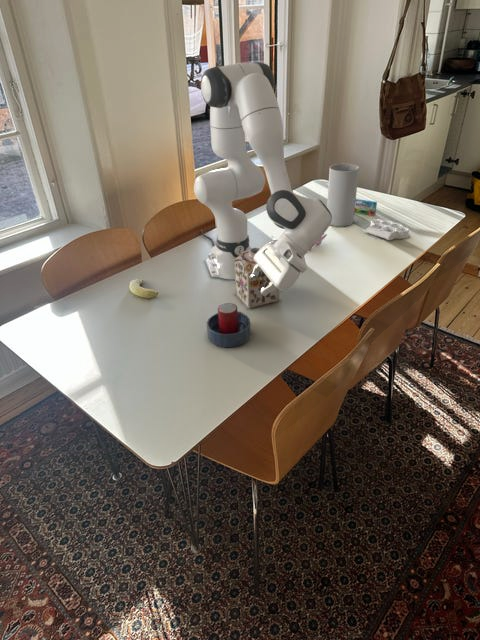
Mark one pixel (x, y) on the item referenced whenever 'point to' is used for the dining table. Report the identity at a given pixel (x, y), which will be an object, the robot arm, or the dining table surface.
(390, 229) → the egg carton
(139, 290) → the fruit
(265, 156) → the robot arm
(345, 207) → the cylinder vase
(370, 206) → the colorful printed box
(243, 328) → the bowl
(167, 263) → the dining table surface
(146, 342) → the dining table surface
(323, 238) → the pink antlered figurine
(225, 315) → the can
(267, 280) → the decorative jar
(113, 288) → the dining table surface
